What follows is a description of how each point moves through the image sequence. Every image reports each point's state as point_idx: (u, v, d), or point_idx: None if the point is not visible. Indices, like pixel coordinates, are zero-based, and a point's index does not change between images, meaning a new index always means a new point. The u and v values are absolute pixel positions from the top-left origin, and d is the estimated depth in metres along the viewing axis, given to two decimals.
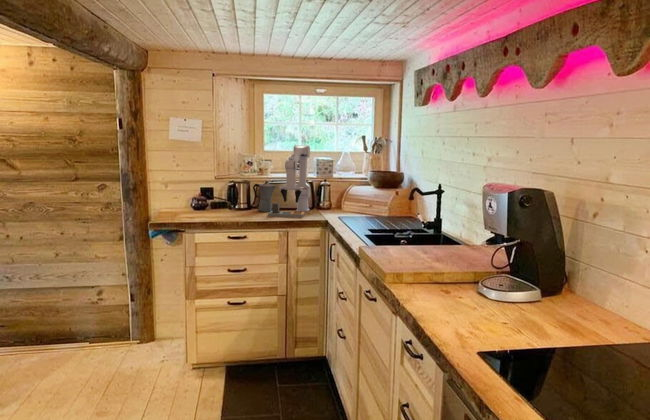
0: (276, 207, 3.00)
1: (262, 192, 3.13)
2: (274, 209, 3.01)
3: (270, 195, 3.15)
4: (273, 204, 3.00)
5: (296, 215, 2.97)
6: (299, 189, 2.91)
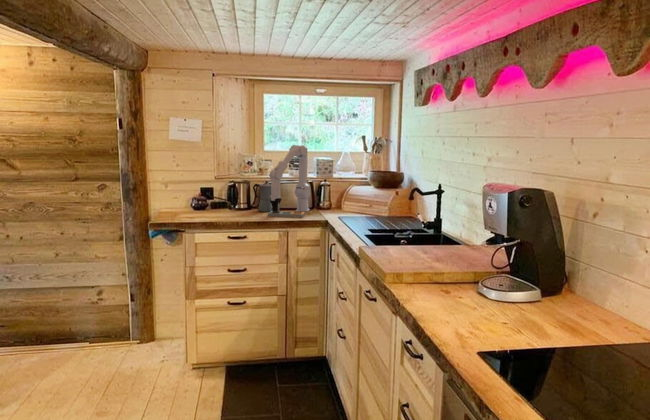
0: None
1: (262, 192, 3.13)
2: None
3: (270, 195, 3.15)
4: None
5: (296, 215, 2.97)
6: None
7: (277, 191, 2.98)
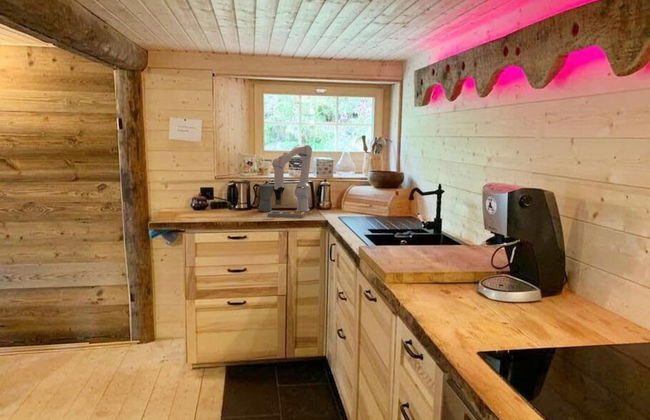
0: None
1: (262, 192, 3.13)
2: None
3: (270, 195, 3.15)
4: None
5: (296, 215, 2.97)
6: None
7: (280, 180, 2.97)
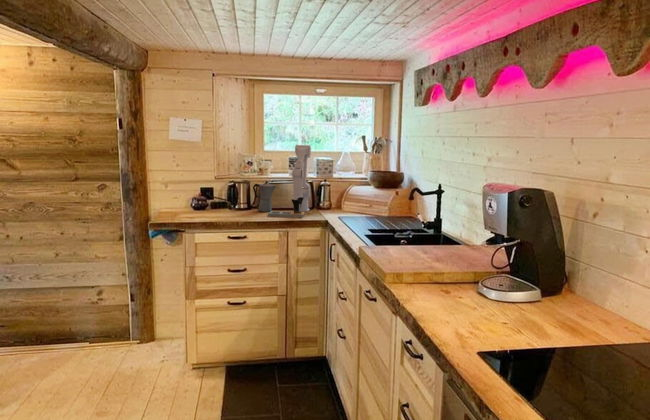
0: None
1: (262, 192, 3.13)
2: None
3: (270, 195, 3.15)
4: None
5: (296, 215, 2.97)
6: None
7: (299, 190, 2.96)
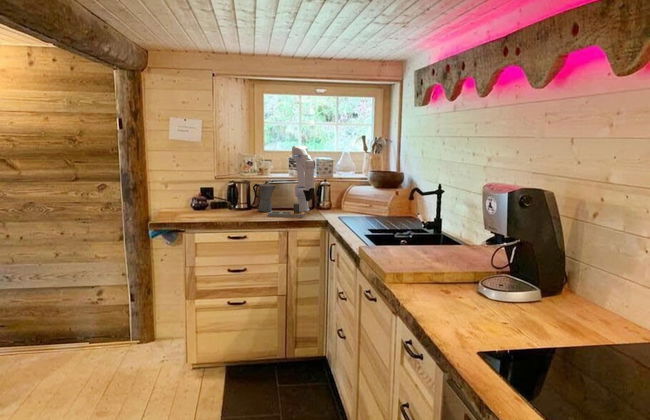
0: (297, 208, 2.98)
1: (262, 192, 3.13)
2: (296, 210, 2.99)
3: (270, 195, 3.15)
4: (294, 205, 2.98)
5: (296, 215, 2.97)
6: None
7: (311, 181, 3.01)
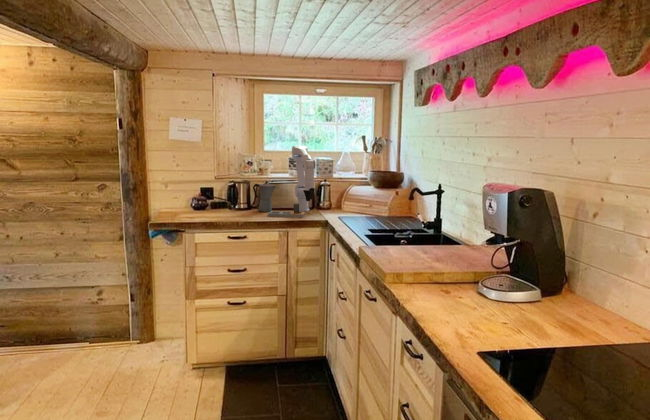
0: (297, 208, 2.98)
1: (262, 192, 3.13)
2: (296, 210, 2.99)
3: (270, 195, 3.15)
4: (294, 205, 2.98)
5: (296, 215, 2.97)
6: None
7: (311, 181, 3.01)
